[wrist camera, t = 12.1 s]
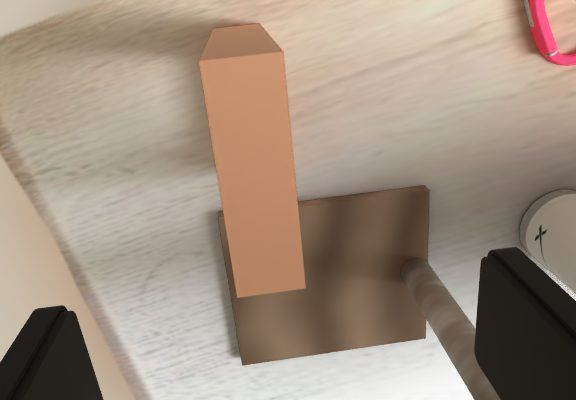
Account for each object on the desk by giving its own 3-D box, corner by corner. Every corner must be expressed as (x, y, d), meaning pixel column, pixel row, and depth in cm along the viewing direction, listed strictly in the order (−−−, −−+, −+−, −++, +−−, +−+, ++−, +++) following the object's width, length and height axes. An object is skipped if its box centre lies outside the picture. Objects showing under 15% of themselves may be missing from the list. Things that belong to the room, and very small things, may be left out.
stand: (427, 185, 38) (572, 329, 22) (423, 330, 44) (536, 530, 27) (214, 212, 37) (201, 384, 21) (238, 357, 42) (243, 582, 26)
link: (259, 23, 32) (283, 51, 17) (275, 167, 36) (305, 288, 21) (213, 28, 32) (198, 60, 17) (234, 172, 36) (237, 298, 21)
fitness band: (510, -29, 33) (522, -29, 31) (591, -76, 32) (608, -79, 31) (543, 78, 36) (556, 82, 35) (618, 38, 35) (634, 40, 34)
